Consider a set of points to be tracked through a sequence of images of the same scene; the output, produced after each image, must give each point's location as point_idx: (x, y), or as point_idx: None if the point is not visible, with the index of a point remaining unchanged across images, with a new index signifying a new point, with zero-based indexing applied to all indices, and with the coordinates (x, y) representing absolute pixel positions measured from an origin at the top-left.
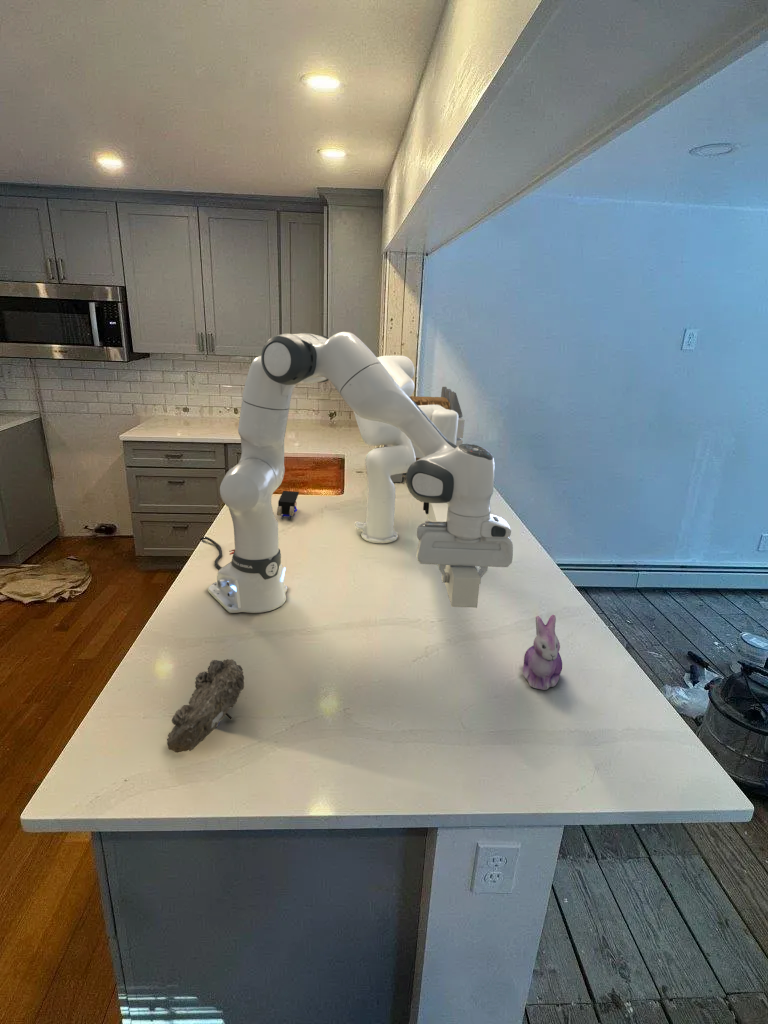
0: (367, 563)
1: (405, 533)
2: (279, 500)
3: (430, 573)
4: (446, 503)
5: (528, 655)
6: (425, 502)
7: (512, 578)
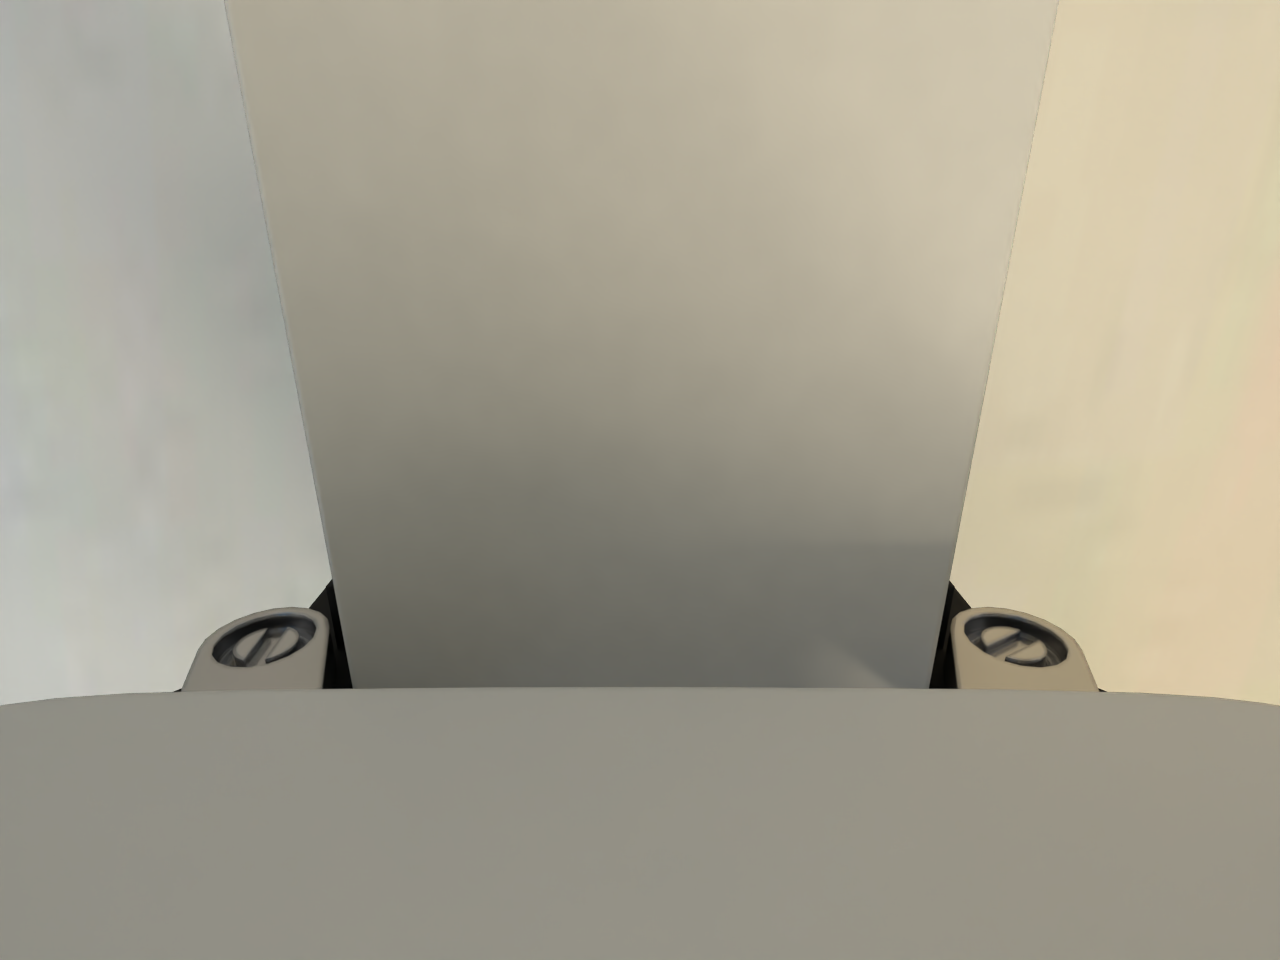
0: (1105, 403)
1: None
2: None
3: None
4: (391, 43)
5: None
6: (950, 620)
7: (24, 216)
